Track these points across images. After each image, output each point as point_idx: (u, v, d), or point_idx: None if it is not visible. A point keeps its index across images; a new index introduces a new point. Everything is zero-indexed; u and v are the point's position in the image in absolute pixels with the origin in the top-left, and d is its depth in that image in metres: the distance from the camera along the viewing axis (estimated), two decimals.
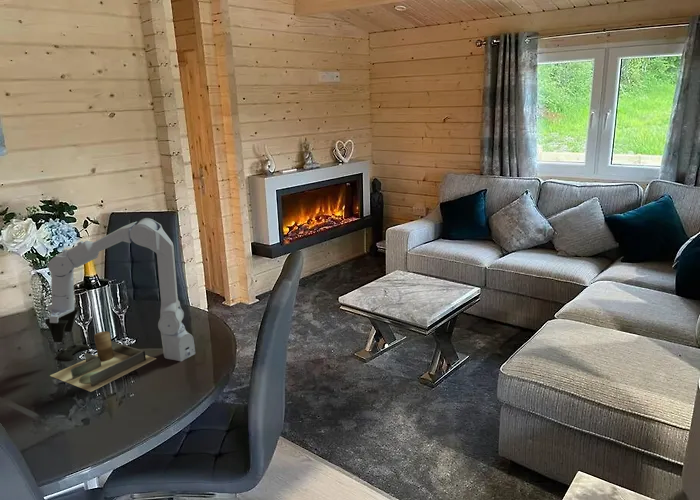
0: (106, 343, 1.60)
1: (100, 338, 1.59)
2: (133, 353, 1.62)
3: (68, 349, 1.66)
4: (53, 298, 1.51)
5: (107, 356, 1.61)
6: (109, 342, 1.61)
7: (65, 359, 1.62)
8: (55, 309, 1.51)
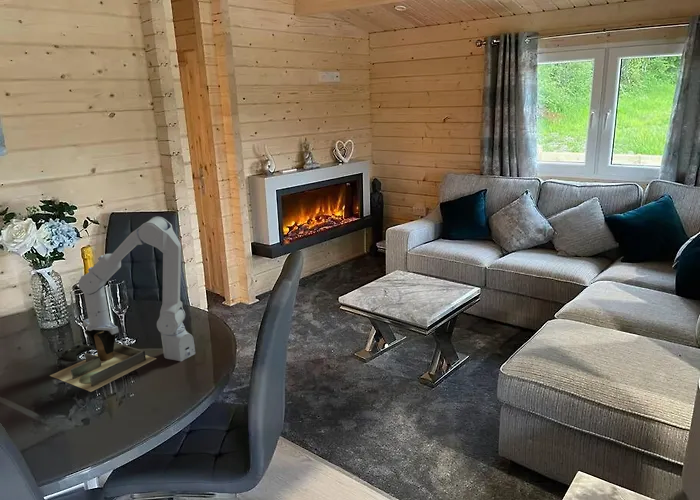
0: None
1: None
2: (133, 353, 1.62)
3: (72, 349, 1.66)
4: (97, 315, 1.56)
5: (107, 356, 1.61)
6: None
7: (69, 359, 1.62)
8: (101, 325, 1.57)
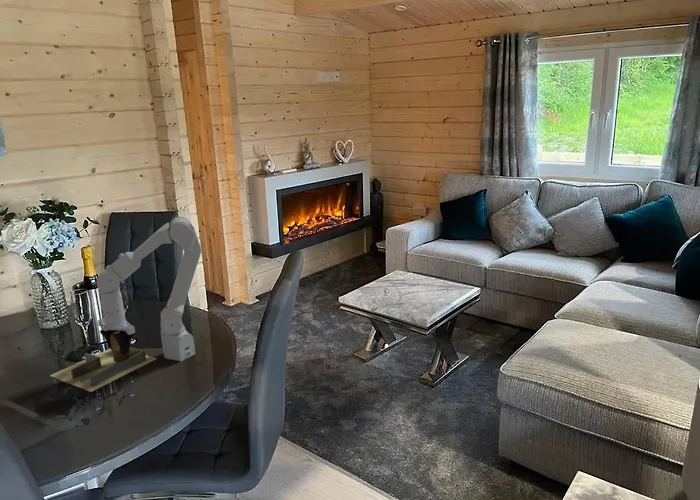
0: None
1: None
2: (133, 353, 1.62)
3: (78, 350, 1.65)
4: (113, 315, 1.52)
5: (122, 357, 1.56)
6: None
7: (75, 360, 1.61)
8: (117, 325, 1.53)
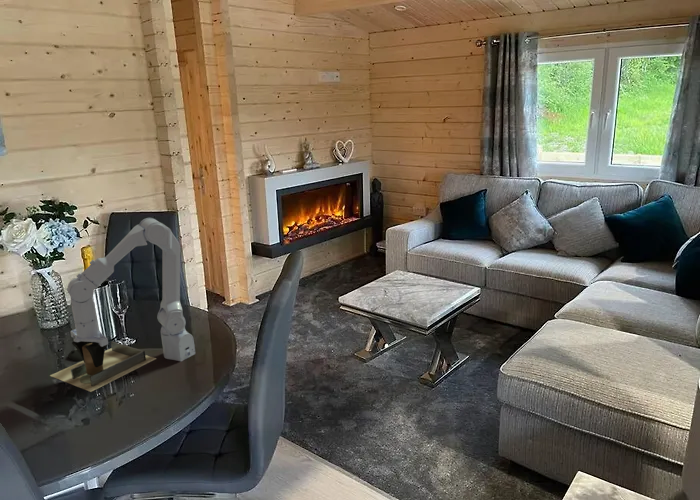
0: None
1: None
2: (133, 353, 1.62)
3: None
4: (85, 326, 1.45)
5: (96, 370, 1.49)
6: None
7: (75, 359, 1.61)
8: (90, 336, 1.46)
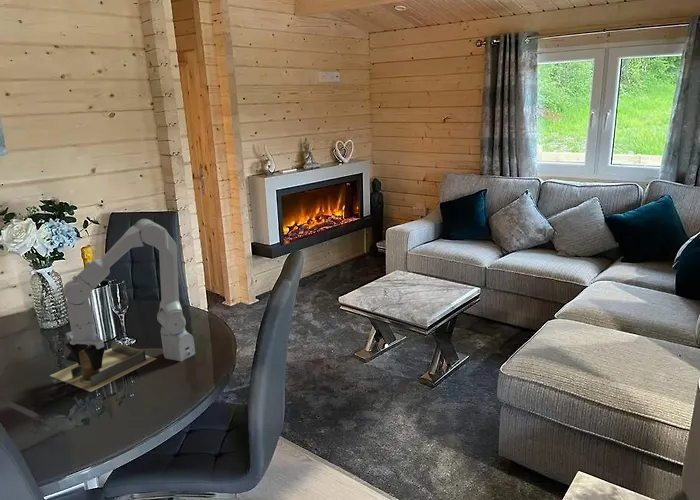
0: None
1: (85, 356, 1.46)
2: (133, 353, 1.62)
3: None
4: (81, 328, 1.44)
5: None
6: None
7: None
8: (86, 338, 1.45)
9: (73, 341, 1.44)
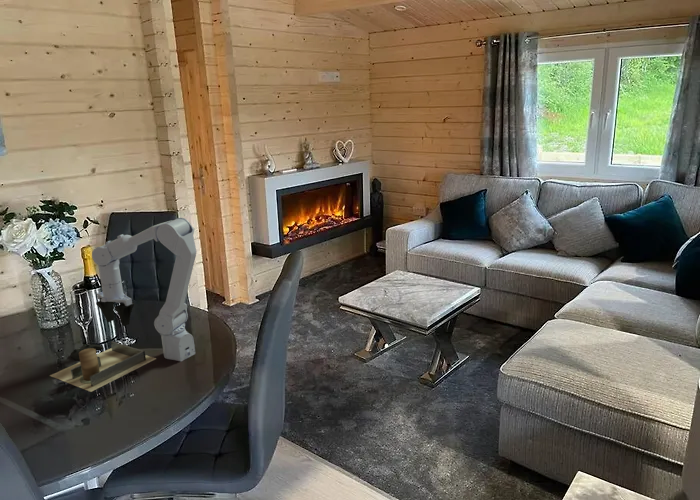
0: (91, 361, 1.47)
1: (85, 356, 1.46)
2: (133, 353, 1.62)
3: (81, 348, 1.66)
4: (111, 287, 1.59)
5: None
6: (95, 360, 1.48)
7: (77, 359, 1.62)
8: (115, 297, 1.60)
9: (104, 299, 1.60)
